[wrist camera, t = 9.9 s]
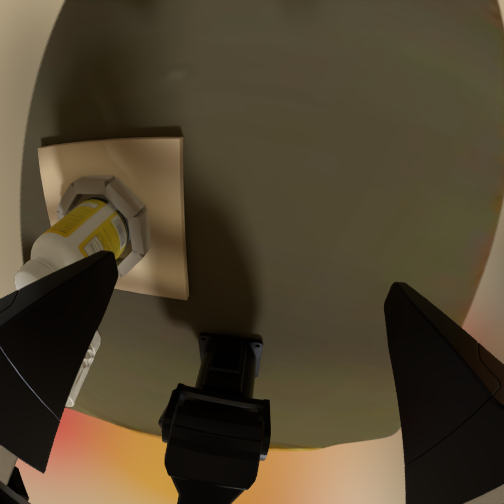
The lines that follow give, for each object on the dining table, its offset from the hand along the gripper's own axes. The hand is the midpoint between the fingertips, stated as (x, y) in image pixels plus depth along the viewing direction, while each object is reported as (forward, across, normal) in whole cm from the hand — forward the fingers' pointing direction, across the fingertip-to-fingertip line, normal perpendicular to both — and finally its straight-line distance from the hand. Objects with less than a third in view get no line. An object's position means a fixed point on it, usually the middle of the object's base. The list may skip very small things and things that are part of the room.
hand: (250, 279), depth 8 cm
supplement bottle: (+12, +13, +5) cm, 18 cm away
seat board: (+12, +13, +5) cm, 19 cm away
